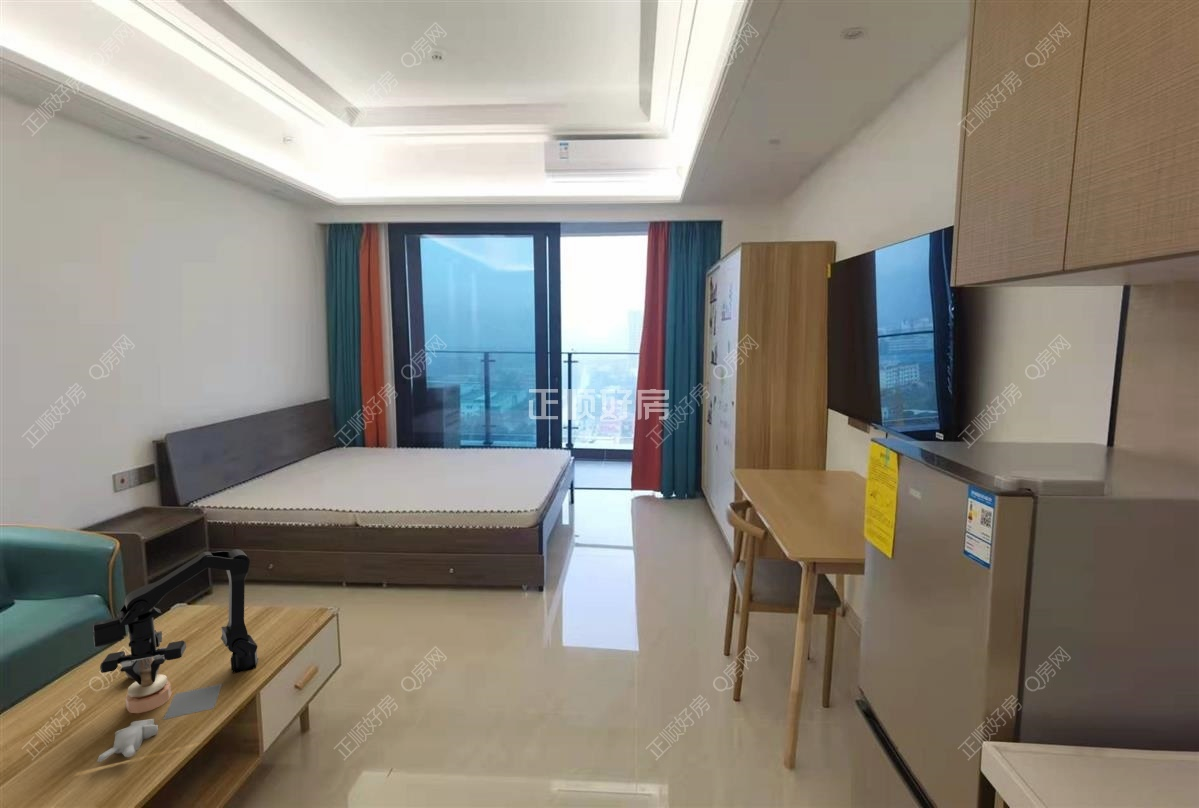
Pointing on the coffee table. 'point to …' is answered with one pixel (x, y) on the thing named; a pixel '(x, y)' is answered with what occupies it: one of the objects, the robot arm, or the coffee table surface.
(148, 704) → the bowl
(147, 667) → the vase
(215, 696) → the mat
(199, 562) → the robot arm
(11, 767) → the coffee table surface
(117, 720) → the coffee table surface
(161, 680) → the lid
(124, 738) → the grey toy figurine
